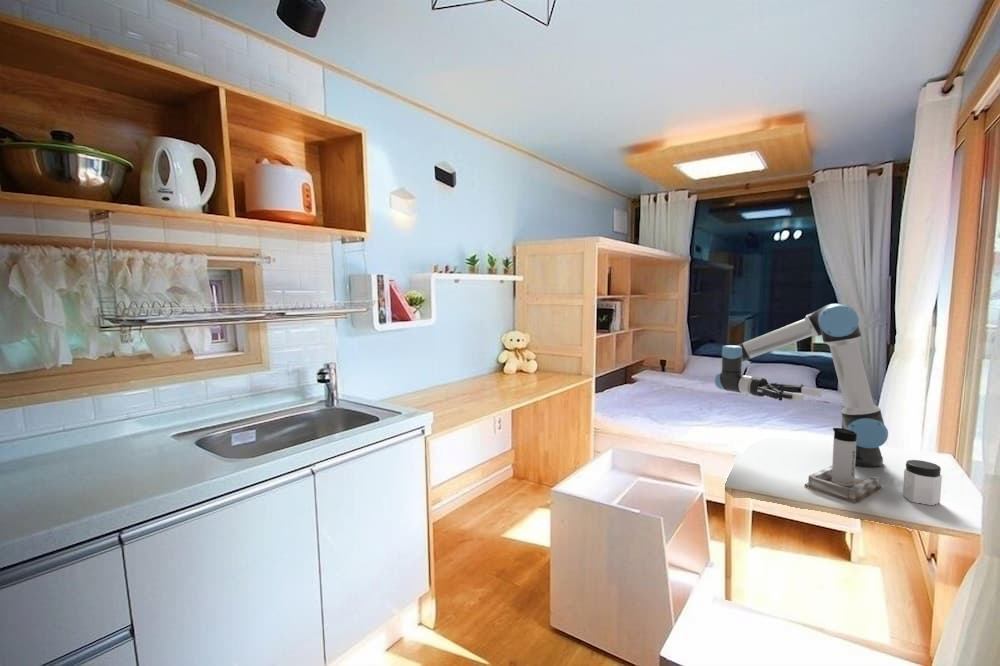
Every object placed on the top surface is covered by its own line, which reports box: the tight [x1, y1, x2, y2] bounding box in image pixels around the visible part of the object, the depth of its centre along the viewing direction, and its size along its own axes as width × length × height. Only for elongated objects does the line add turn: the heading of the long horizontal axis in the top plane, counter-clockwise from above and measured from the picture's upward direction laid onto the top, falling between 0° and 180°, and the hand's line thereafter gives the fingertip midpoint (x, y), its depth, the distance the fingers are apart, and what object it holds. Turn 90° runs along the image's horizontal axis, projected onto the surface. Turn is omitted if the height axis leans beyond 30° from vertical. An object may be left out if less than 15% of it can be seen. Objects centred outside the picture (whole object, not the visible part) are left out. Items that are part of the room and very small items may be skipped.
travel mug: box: [831, 427, 857, 488], centre depth 155 cm, size 6×7×20 cm
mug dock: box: [804, 465, 883, 504], centre depth 156 cm, size 20×15×4 cm
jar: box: [902, 459, 943, 506], centre depth 146 cm, size 9×8×12 cm
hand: (812, 395), depth 164 cm, fingers open, 13 cm apart
